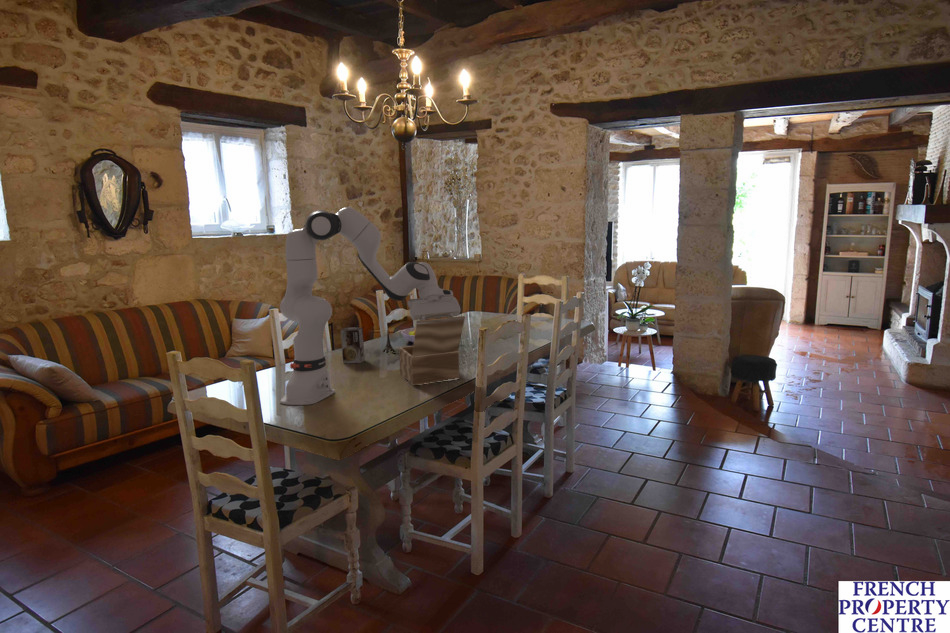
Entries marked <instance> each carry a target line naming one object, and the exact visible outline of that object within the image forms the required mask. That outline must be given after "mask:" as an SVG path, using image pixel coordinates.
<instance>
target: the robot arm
mask: <svg viewBox="0 0 950 633" xmlns="http://www.w3.org/2000/svg"><path fill="white" fill-rule="evenodd" d="M305 220H306V221H305V223H304V225H303V227H302V228H298V229H294V230H291V231H289V232H288V233H287V234H286V238H285V261H286V262H285V263H286V264H285V266H286V273H287V274H286V277H287V278H286V279H287V282H286V289H285V294H284V296H283V298H282V299H281V301H280V304H279V310H280V313H281V315H282V316H283V317H285V319H287V320H290V321H291V322H296V323H298V329H297V333H296V336H294V338H293V353H294V354H293V355H294V359H293V362H291V363H290V365H289V367H290V368H289V369H293V371H292V373H291V374H290V378H289V379H288V381H287V384H286V386H285V394H284V396H282V398H281V399H280V402H279V404H282V405H289V406H291V405H292V406H306V405H315V404H317V403H318V402H320V401H322V400H324V399H326V398H328V397H330V396H331V395H333V394H335V393H336V389H334V388H333V386H332V380H331V375H330V371H329V370H328V369H327V367H326V365H327V363H326V361H327V360H326V356H325V352H324V333H325V327H326V325H327V323H328V322H329V321H330V319H331V317H332V314H333V308H332V305H331V303H330V302H329V301H328V300H326V299H324V298H323V297H321V296H319V295H318V296H317V295H313V288H314V285H315V283H316V282H317V280H318V275H319V274H318V264H317V263H318V262H317V253H316V252H317V251H316V247H317V246H316V245H317V244H318V242H319V241H325V240H329V239H331V238H332V237H334V236H336V235H337V234H339V235H341V236H343V237H345V239H346V240H348V241H349V242H351V244H352V245H353V246H354V247H355V249H356V250H357V252H358V254H357V257H358V259H359V261H360V262H361V264H362V265H363V266H364V268H365V269H366V271H368V273H369V274H370V275H371V276H372V277H373V278H374V280H375V281H376V282H377V283H378V284H379V286H381V288H382V289H383V291H384V293H385V294H386V296H387V297H388V298H389V299H391V300H392V301H397V302H401V301H404V300H405V299H406V298H407V297H408V296H409V294H411V293H412V292H413V291H414V290H415V289H417V290H418V296H419V298H410V299H409V300H408V301H407V302H406V303H407V304H406V305H407V307H408V309H409V315H410V319H412V320H413V321H419V320H429V319H439V318H450V317H459V315H460V313H461V310H462V309H461V307H460V304H459V301H458V299H457V298H456V297H455V296H454V292H453V290H450V289H444V288H440V286H439V285H438V279H437V275H436V273H435V272H434V270H433V268H432V267H431V264H429V263H427V262H425V261H420V262H415V261H408V262H407V263H405V265H403V266H402V267H401V268H400V269H399V270H398V271H397V272H396V273H394V275H389V274H388V272H387V271H386V270H385V269H384V268H383V266H382V265H381V264H380V263H379V262H378V259H377V253H378V251H379V247H380V245H381V242H382V235H381V231H380V230H379V228H378V227H377V226H376V225H375V224H374V223H373V222H372V221H371V220H370V219H369V218H367V217H366V216H365V215H364V214H362V213H361V212H359V211H358V210H356V209H354V208H353V207H351V206H345V207H343V208H341V209H339V210H338V211H337V212H336V213H334V212H333V213H332V212H329V211H326V210H323V209H322V210H321V209H318V210H314V211H313V212H311V213H309V215H308V216H307V218H306V219H305Z"/></svg>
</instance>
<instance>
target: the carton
mask: <svg viewBox="0 0 950 633" xmlns="http://www.w3.org/2000/svg"><path fill="white" fill-rule="evenodd" d="M413 346H414V345H409V346H400V347H398V353H399V354H398V355H399V357H398V358H399V374H400V376H401V377H402V378H404V379H405V378H406V379H407V380H408V381H409V382H410V383H411V384H412V385H418V384H424V383H430V382H437V381H443V380H448V379H455V378H459V379H460V363H459V362H460V360H459V359H460V357H459V355H460V354H459V350H458V351H455V352H447V353H439V354H430V355H422V356H414V357H413V356H412V354H413ZM406 379H405V380H406ZM407 380H406V381H407ZM408 381H407V382H408ZM409 382H408V383H409ZM410 383H409V384H410ZM411 384H410V385H411ZM412 385H411V386H412Z"/></svg>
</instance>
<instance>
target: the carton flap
mask: <svg viewBox="0 0 950 633" xmlns="http://www.w3.org/2000/svg"><path fill="white" fill-rule="evenodd" d="M465 319H466V316H464V315H463V316H453V317H450V318H449V317H441V318H431V319H425V320H416V326H415V327H416V331H415V339H414V343H413V345H412V346H413V354H412V356H413V357H414V356H422V355H430V354H439V353H447V352H455V351H458V352H459V349H460V343H461V339H462V338H461V337H462V333H463V328H464V323H465Z"/></svg>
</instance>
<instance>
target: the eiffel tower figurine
mask: <svg viewBox="0 0 950 633" xmlns="http://www.w3.org/2000/svg"><path fill="white" fill-rule="evenodd" d="M386 331H387V332H386V335H387V338H386V345H385V347H384V349H383V350H382V353H383V355H385V353H384V352H385V351H386V354H387V353H388V351H393V352H395V353H396V351H395V349H394V348H393V346H392V344H391V341H390V335H389V329H388V328H387V330H386Z"/></svg>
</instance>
